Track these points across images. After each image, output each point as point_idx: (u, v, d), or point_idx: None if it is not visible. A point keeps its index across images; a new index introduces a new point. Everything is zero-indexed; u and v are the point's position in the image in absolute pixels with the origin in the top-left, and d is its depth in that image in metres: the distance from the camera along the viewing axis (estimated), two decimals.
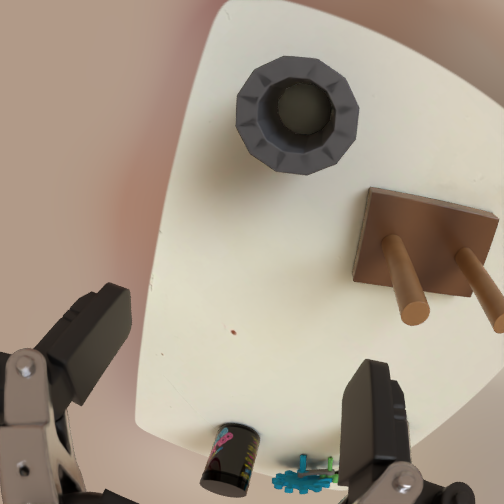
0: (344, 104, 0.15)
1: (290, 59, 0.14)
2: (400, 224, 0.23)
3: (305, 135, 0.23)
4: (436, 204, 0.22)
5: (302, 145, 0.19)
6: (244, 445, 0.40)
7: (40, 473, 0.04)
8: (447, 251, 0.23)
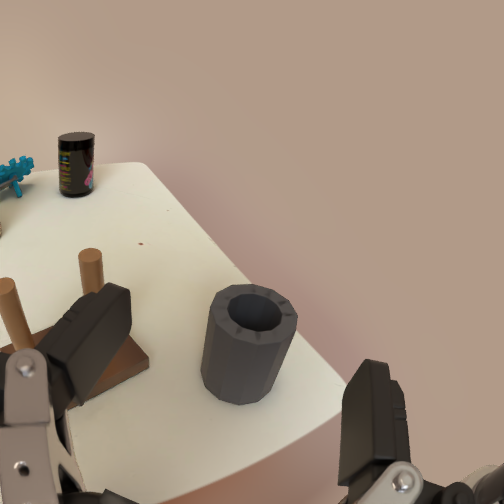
0: (242, 332, 0.21)
1: (291, 331, 0.23)
2: None
3: None
4: (95, 385, 0.22)
5: None
6: (74, 179, 0.48)
7: (40, 473, 0.04)
8: None
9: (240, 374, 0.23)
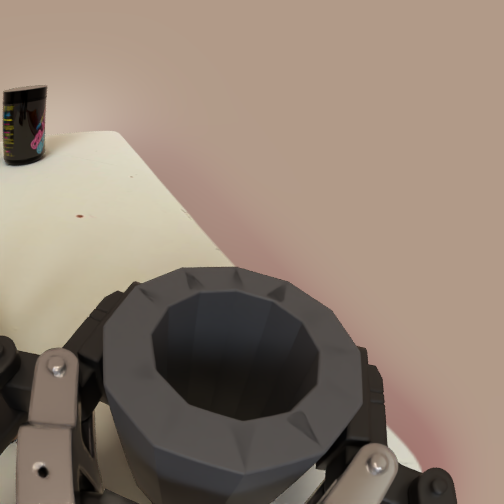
0: (187, 426, 0.05)
1: (350, 408, 0.06)
2: None
3: None
4: None
5: (172, 363, 0.10)
6: (17, 141, 0.32)
7: (60, 476, 0.04)
8: None
9: None
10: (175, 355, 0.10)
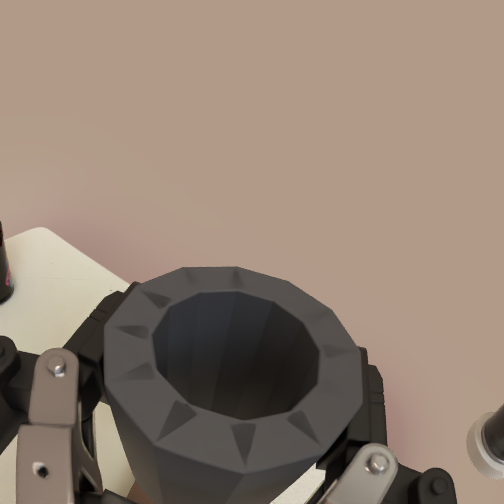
0: (187, 426, 0.05)
1: (350, 407, 0.06)
2: None
3: None
4: None
5: (172, 363, 0.10)
6: None
7: (60, 476, 0.04)
8: None
9: None
10: (176, 355, 0.10)
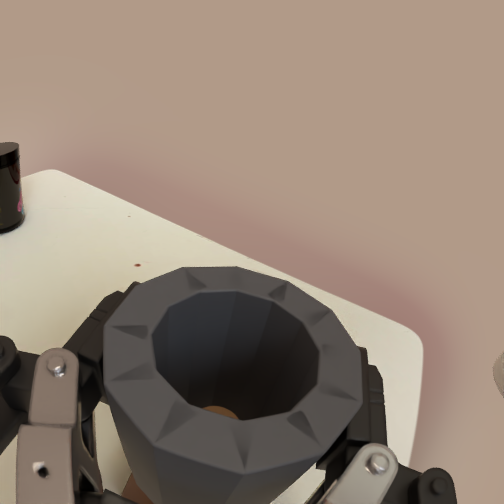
0: (187, 426, 0.05)
1: (350, 408, 0.06)
2: None
3: None
4: None
5: (172, 363, 0.10)
6: (5, 208, 0.31)
7: (60, 476, 0.04)
8: None
9: None
10: (175, 355, 0.10)
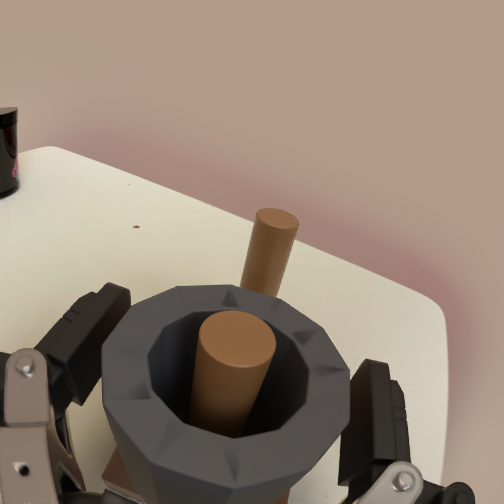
0: (181, 444, 0.06)
1: (337, 426, 0.07)
2: None
3: None
4: None
5: (168, 377, 0.10)
6: None
7: (40, 473, 0.04)
8: None
9: None
10: (171, 370, 0.10)
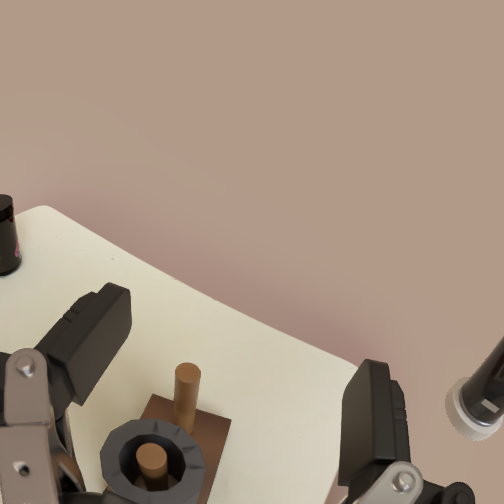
0: (130, 492, 0.13)
1: (192, 492, 0.14)
2: (201, 436, 0.25)
3: (139, 474, 0.20)
4: None
5: (131, 455, 0.18)
6: (4, 255, 0.36)
7: (40, 473, 0.04)
8: (167, 474, 0.21)
9: None
10: (132, 452, 0.18)
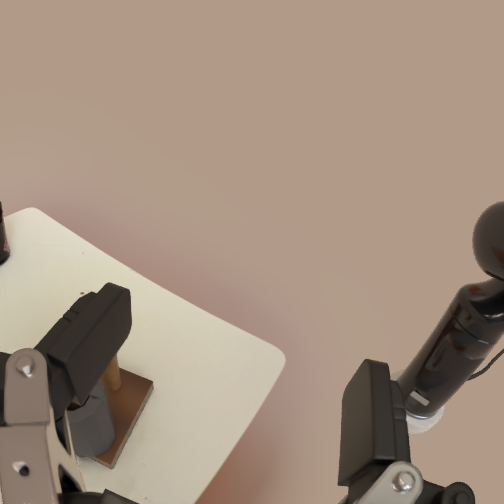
0: None
1: (89, 414, 0.21)
2: (126, 392, 0.32)
3: None
4: (134, 417, 0.30)
5: None
6: None
7: (40, 473, 0.04)
8: None
9: None
10: None
